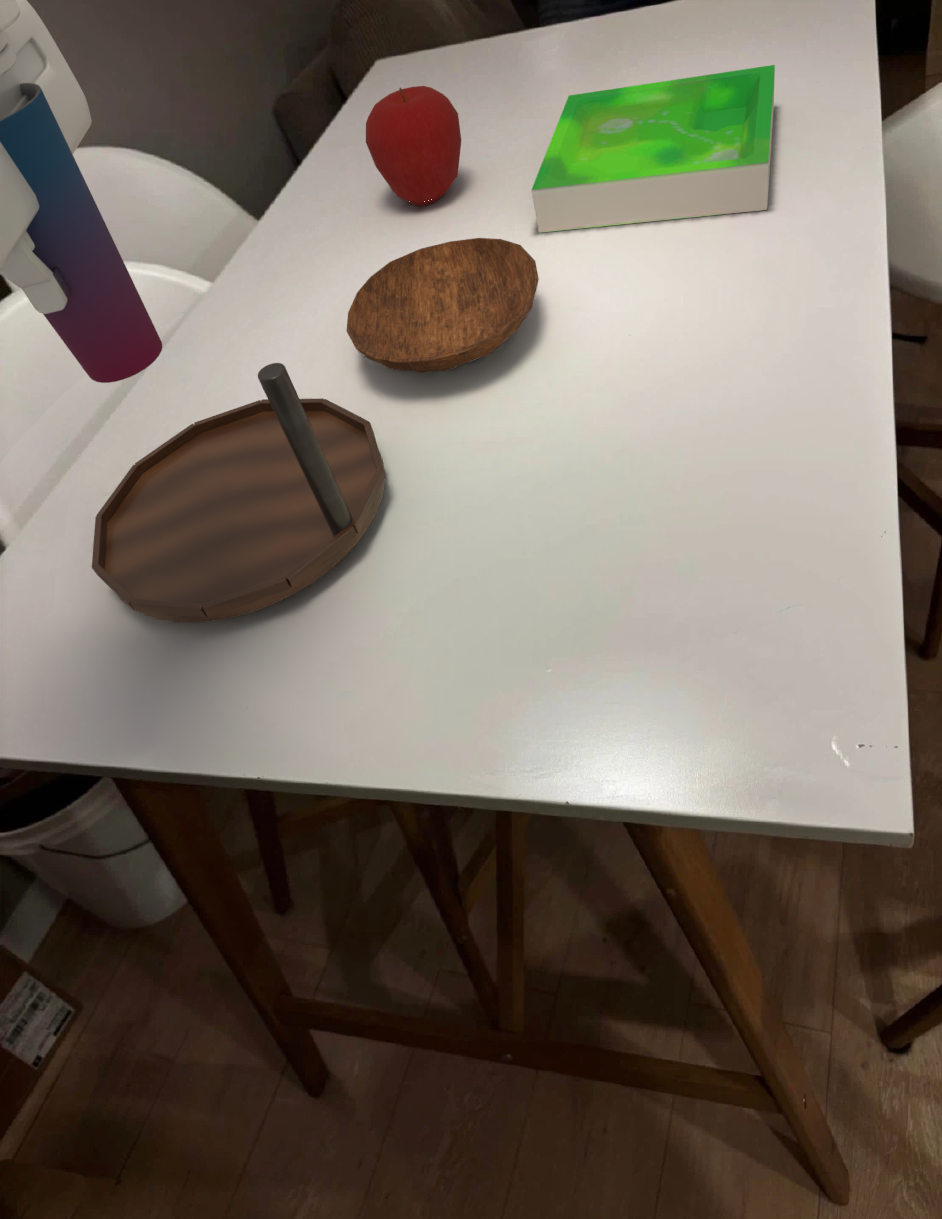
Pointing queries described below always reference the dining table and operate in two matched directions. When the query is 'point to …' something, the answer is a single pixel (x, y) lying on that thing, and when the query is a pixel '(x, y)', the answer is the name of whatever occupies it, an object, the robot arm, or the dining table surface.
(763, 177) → the green flat block
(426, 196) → the apple
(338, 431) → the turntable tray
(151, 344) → the cup
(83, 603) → the dining table surface
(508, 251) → the bowl
